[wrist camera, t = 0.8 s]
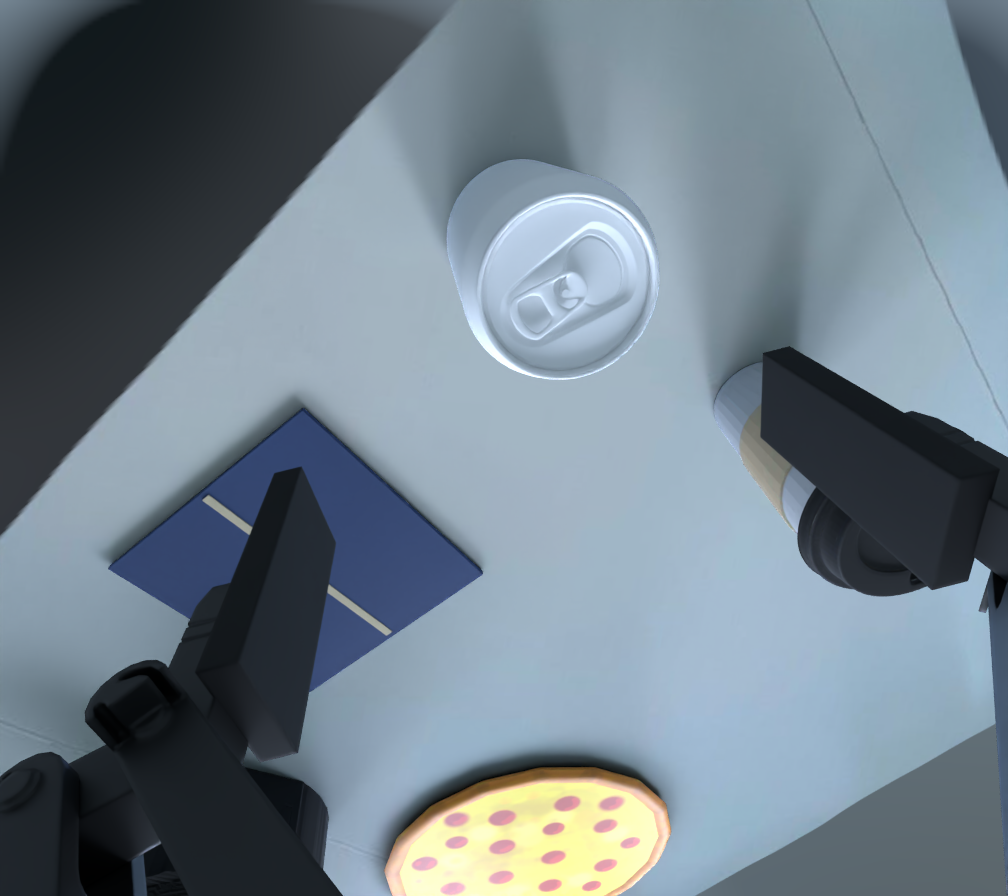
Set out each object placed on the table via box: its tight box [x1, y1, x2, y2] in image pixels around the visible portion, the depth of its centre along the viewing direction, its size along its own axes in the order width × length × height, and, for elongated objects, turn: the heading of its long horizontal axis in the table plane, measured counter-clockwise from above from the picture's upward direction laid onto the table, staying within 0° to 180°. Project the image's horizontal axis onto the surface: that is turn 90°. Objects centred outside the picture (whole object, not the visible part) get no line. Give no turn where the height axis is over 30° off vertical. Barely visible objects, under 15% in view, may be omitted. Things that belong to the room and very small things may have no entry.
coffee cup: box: [714, 362, 966, 596], centre depth 33 cm, size 9×9×15 cm
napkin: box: [108, 408, 483, 692], centre depth 41 cm, size 18×18×1 cm
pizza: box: [384, 767, 671, 896], centre depth 64 cm, size 32×32×1 cm
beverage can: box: [447, 159, 659, 380], centre depth 27 cm, size 8×8×12 cm
